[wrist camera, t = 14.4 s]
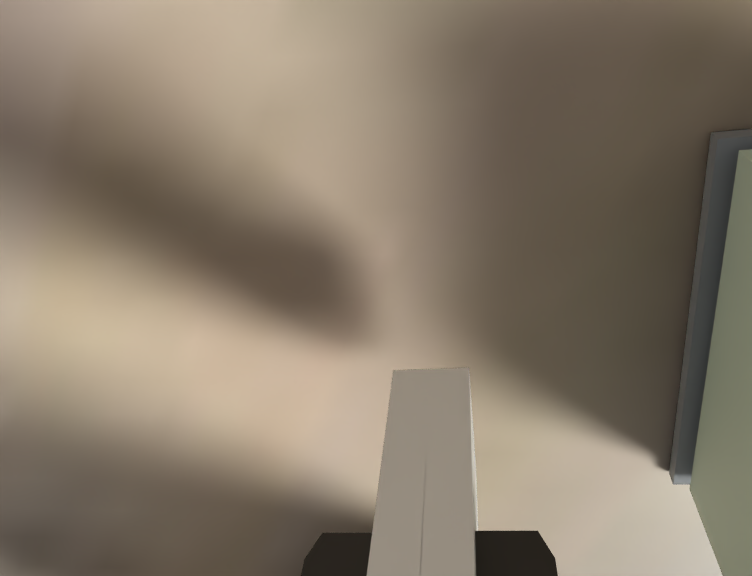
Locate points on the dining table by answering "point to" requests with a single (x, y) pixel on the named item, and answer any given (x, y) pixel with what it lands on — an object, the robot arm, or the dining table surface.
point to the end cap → (729, 396)
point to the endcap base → (705, 294)
